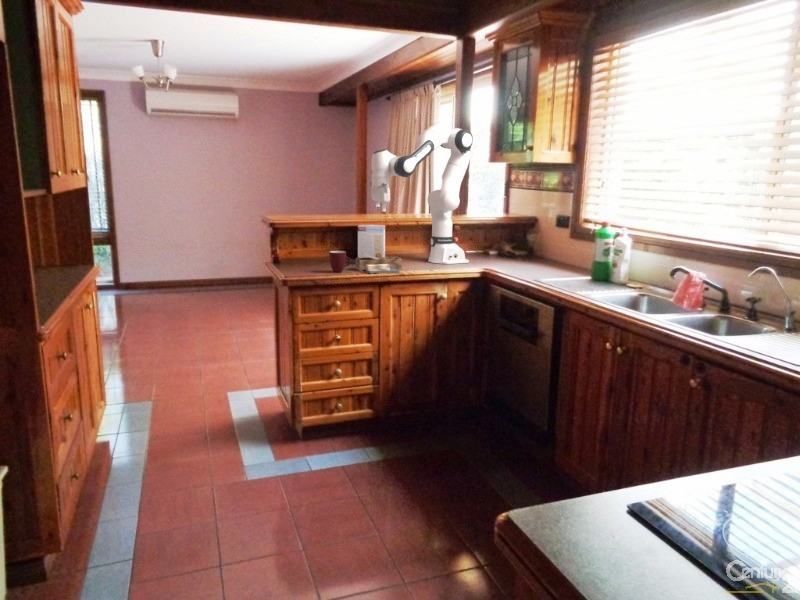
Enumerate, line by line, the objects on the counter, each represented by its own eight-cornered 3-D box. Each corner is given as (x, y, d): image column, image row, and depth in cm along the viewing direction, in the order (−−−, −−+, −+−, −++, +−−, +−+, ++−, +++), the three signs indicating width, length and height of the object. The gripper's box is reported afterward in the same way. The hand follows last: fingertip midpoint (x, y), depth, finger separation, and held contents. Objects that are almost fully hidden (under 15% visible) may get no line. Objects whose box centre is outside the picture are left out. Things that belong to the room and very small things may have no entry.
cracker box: (385, 263, 330) (385, 224, 326) (383, 265, 324) (384, 225, 320) (359, 262, 331) (359, 223, 327) (357, 264, 325) (357, 224, 321)
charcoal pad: (394, 270, 309) (394, 268, 308) (399, 273, 302) (399, 270, 301) (365, 271, 304) (365, 269, 304) (369, 274, 297) (369, 271, 297)
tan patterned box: (396, 267, 319) (397, 256, 318) (401, 269, 311) (402, 258, 310) (355, 268, 312) (355, 257, 311) (359, 271, 305) (359, 260, 303)
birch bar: (387, 269, 305) (387, 264, 305) (390, 270, 301) (390, 265, 301) (366, 269, 302) (366, 264, 301) (368, 271, 298) (368, 266, 297)
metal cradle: (394, 265, 317) (395, 262, 317) (398, 267, 312) (399, 263, 312) (360, 253, 310) (361, 249, 310) (363, 255, 305) (364, 251, 304)
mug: (344, 269, 308) (344, 250, 306) (353, 272, 301) (353, 251, 299) (326, 271, 301) (326, 251, 299) (335, 274, 295) (335, 253, 293)
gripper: (393, 183, 299) (393, 212, 302) (380, 182, 318) (381, 209, 321) (380, 183, 297) (381, 212, 300) (368, 182, 316) (369, 209, 319)
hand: (381, 210), depth 311 cm, fingers open, 8 cm apart
